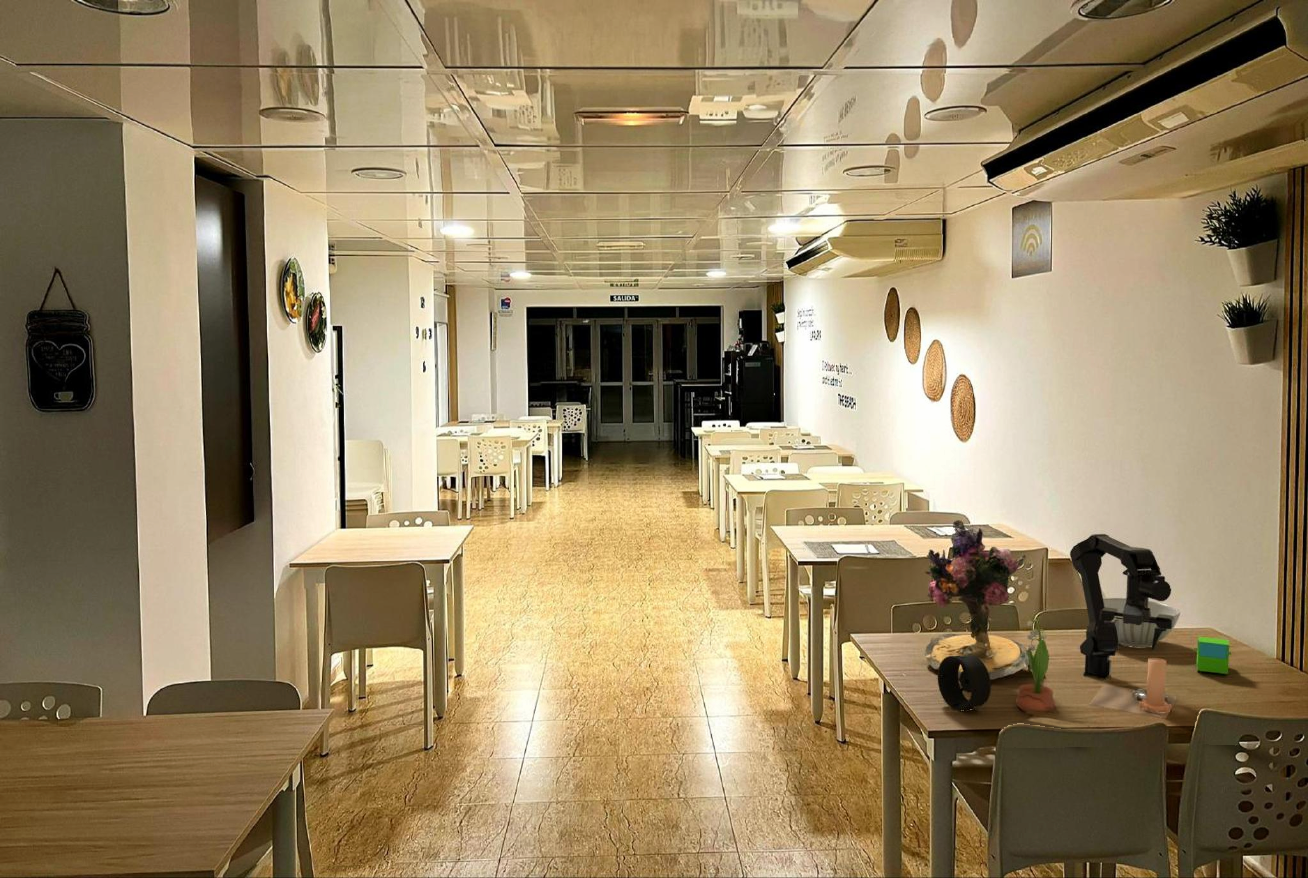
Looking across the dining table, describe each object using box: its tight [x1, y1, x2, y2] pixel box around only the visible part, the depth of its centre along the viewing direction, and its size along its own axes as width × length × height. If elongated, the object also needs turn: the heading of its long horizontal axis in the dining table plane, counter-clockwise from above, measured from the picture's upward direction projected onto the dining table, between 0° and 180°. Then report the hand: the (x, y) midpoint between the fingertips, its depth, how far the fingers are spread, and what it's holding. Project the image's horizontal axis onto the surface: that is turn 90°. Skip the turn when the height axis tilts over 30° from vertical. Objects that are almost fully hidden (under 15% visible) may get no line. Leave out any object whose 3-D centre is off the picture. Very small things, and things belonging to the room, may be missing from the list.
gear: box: [1132, 688, 1168, 702], centre depth 297 cm, size 9×9×2 cm
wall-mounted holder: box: [937, 655, 992, 712], centre depth 292 cm, size 14×14×10 cm
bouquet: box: [924, 519, 1031, 681], centre depth 326 cm, size 33×44×45 cm
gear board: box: [1088, 684, 1178, 719], centre depth 295 cm, size 19×21×2 cm
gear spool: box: [1139, 657, 1172, 713], centre depth 288 cm, size 8×8×13 cm
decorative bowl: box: [1103, 597, 1181, 648], centre depth 357 cm, size 27×27×12 cm
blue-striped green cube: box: [1193, 636, 1232, 676], centre depth 329 cm, size 10×13×10 cm
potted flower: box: [1015, 617, 1056, 712], centre depth 291 cm, size 12×10×25 cm
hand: (1135, 647), depth 305 cm, fingers open, 9 cm apart
